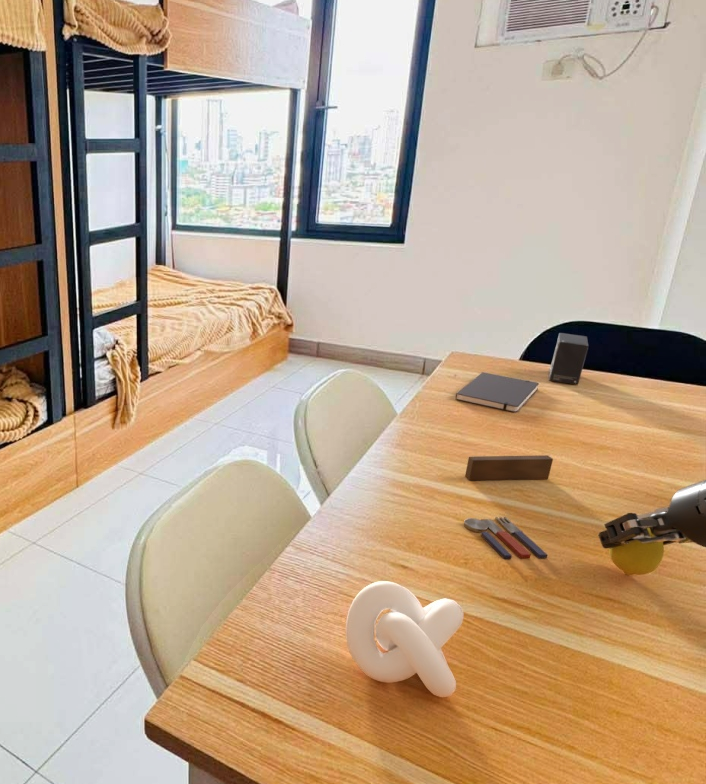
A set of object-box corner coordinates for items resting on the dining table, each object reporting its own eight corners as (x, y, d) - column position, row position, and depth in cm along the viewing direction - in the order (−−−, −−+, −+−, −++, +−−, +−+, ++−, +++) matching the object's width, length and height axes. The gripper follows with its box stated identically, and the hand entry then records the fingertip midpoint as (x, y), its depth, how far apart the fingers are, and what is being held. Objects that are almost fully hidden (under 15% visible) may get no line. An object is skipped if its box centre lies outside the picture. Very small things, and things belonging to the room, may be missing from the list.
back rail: (542, 475, 111) (547, 455, 110) (548, 479, 110) (553, 458, 109) (464, 476, 111) (468, 456, 110) (469, 480, 110) (473, 460, 109)
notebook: (481, 377, 162) (455, 399, 147) (482, 371, 161) (456, 393, 147) (538, 388, 154) (516, 413, 139) (539, 382, 153) (517, 406, 138)
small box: (579, 385, 155) (590, 345, 152) (548, 381, 159) (557, 341, 155) (578, 374, 163) (588, 335, 160) (548, 370, 167) (557, 332, 163)
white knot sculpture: (491, 713, 64) (508, 642, 61) (377, 721, 63) (389, 651, 60) (430, 634, 74) (443, 571, 71) (332, 641, 73) (340, 577, 70)
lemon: (661, 591, 81) (679, 537, 79) (610, 582, 83) (626, 530, 80) (644, 567, 86) (660, 516, 84) (596, 559, 88) (611, 509, 85)
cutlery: (549, 558, 88) (550, 554, 88) (496, 559, 88) (497, 555, 88) (505, 519, 98) (506, 515, 98) (458, 519, 98) (458, 515, 98)
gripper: (784, 474, 71) (666, 512, 87) (660, 476, 71) (563, 514, 86) (816, 540, 68) (688, 567, 83) (687, 542, 68) (582, 569, 83)
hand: (625, 540), depth 85 cm, fingers closed on lemon, 5 cm apart
